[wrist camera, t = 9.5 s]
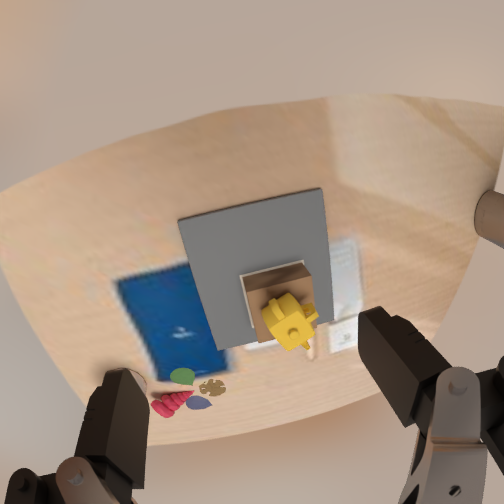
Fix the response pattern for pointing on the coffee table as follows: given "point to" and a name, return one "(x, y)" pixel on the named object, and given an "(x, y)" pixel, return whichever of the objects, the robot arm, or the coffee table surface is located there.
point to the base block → (277, 293)
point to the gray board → (256, 257)
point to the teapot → (290, 321)
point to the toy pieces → (186, 394)
